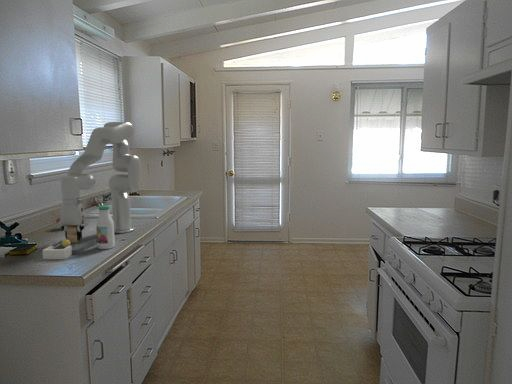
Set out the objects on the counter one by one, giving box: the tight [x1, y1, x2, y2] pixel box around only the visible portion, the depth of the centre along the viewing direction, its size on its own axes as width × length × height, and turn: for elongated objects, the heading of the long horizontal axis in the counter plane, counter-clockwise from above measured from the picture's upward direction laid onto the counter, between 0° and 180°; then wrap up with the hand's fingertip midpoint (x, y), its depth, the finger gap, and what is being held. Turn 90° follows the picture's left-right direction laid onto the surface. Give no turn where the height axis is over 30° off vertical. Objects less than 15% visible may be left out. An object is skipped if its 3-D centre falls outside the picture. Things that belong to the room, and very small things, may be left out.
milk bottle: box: [95, 204, 116, 250], centre depth 184 cm, size 8×8×20 cm
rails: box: [53, 244, 79, 249], centre depth 178 cm, size 8×9×1 cm
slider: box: [66, 226, 82, 243], centre depth 186 cm, size 4×5×8 cm
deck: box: [52, 240, 94, 255], centre depth 182 cm, size 16×15×2 cm
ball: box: [61, 238, 70, 247], centre depth 179 cm, size 4×4×4 cm
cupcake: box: [55, 216, 64, 231], centre depth 223 cm, size 9×8×12 cm
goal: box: [42, 245, 73, 260], centre depth 171 cm, size 7×9×4 cm
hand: (73, 238), depth 187 cm, fingers closed on slider, 4 cm apart
